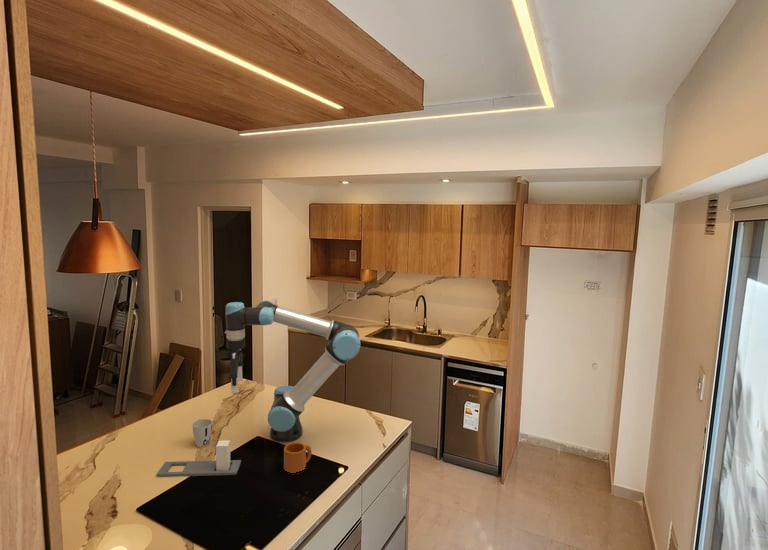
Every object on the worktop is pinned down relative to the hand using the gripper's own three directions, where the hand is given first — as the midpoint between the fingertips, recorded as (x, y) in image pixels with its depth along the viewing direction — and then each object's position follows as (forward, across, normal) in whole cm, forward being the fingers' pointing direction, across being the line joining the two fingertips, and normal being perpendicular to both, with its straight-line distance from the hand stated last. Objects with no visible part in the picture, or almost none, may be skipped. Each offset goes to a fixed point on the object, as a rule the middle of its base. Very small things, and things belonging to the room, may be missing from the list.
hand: (237, 386), depth 186 cm
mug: (+30, +17, +26) cm, 43 cm away
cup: (+29, -6, -16) cm, 34 cm away
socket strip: (+29, +14, -13) cm, 34 cm away
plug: (+29, +15, -4) cm, 33 cm away
